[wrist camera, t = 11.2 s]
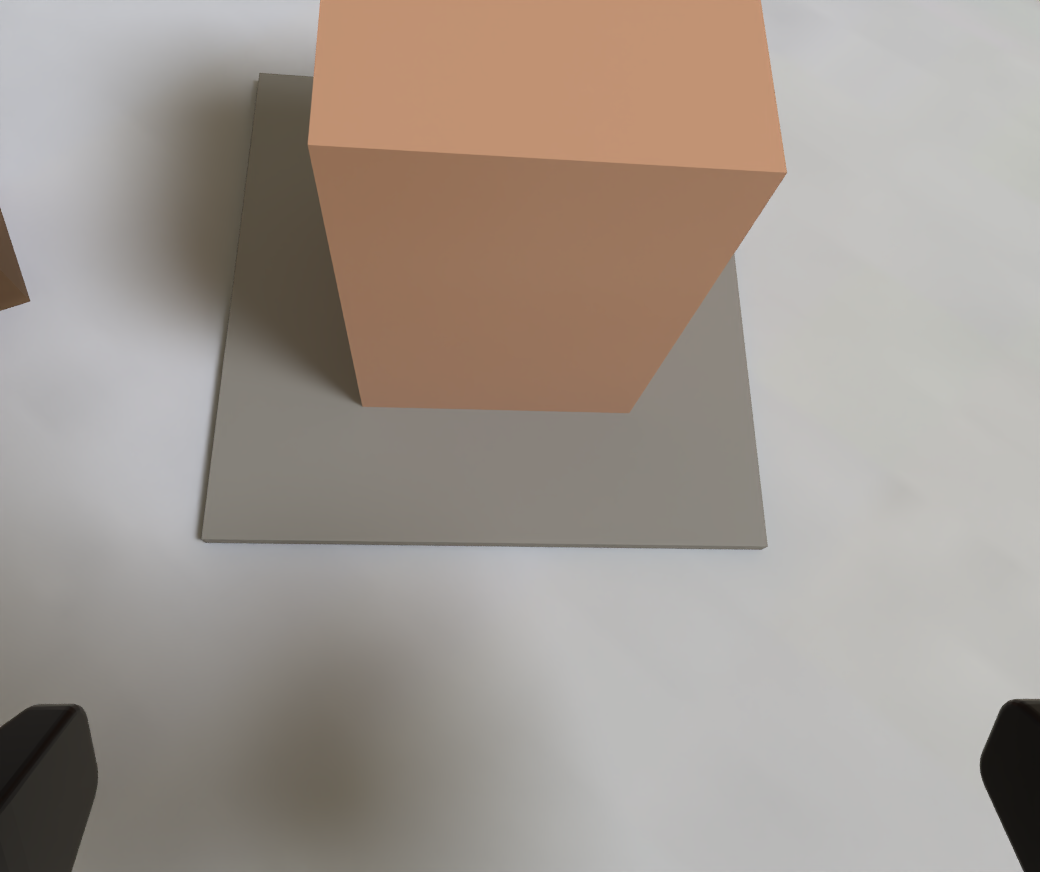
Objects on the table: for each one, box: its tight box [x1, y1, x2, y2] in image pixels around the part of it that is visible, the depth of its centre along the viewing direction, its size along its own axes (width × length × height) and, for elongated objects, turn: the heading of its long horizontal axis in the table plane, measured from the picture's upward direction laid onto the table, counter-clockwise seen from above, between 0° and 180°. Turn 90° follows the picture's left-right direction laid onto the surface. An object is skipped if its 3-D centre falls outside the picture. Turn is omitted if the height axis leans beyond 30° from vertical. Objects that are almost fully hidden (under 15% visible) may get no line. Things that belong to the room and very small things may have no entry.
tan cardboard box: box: [308, 0, 787, 413], centre depth 17 cm, size 7×7×10 cm
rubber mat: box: [201, 73, 768, 550], centre depth 22 cm, size 14×14×1 cm
